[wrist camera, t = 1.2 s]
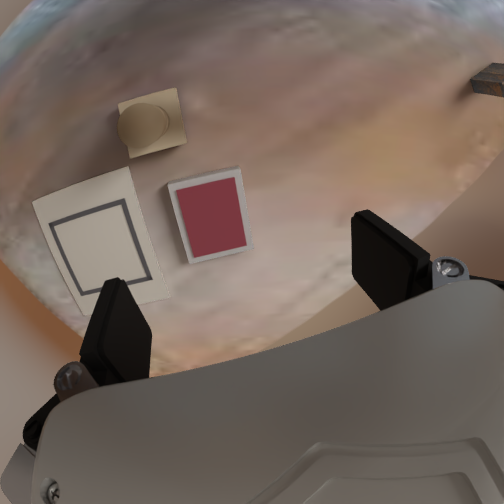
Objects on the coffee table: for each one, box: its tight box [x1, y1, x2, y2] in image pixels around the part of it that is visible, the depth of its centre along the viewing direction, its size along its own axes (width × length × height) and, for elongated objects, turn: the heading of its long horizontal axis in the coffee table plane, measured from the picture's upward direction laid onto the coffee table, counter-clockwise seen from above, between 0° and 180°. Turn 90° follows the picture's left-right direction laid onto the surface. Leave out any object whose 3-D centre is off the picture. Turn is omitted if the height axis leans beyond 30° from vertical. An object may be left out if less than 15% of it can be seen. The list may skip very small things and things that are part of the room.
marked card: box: [32, 166, 171, 316], centre depth 32 cm, size 18×14×1 cm
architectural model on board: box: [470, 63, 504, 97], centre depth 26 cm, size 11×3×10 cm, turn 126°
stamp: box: [117, 87, 187, 159], centre depth 23 cm, size 6×6×10 cm
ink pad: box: [168, 166, 254, 264], centre depth 33 cm, size 10×8×2 cm
